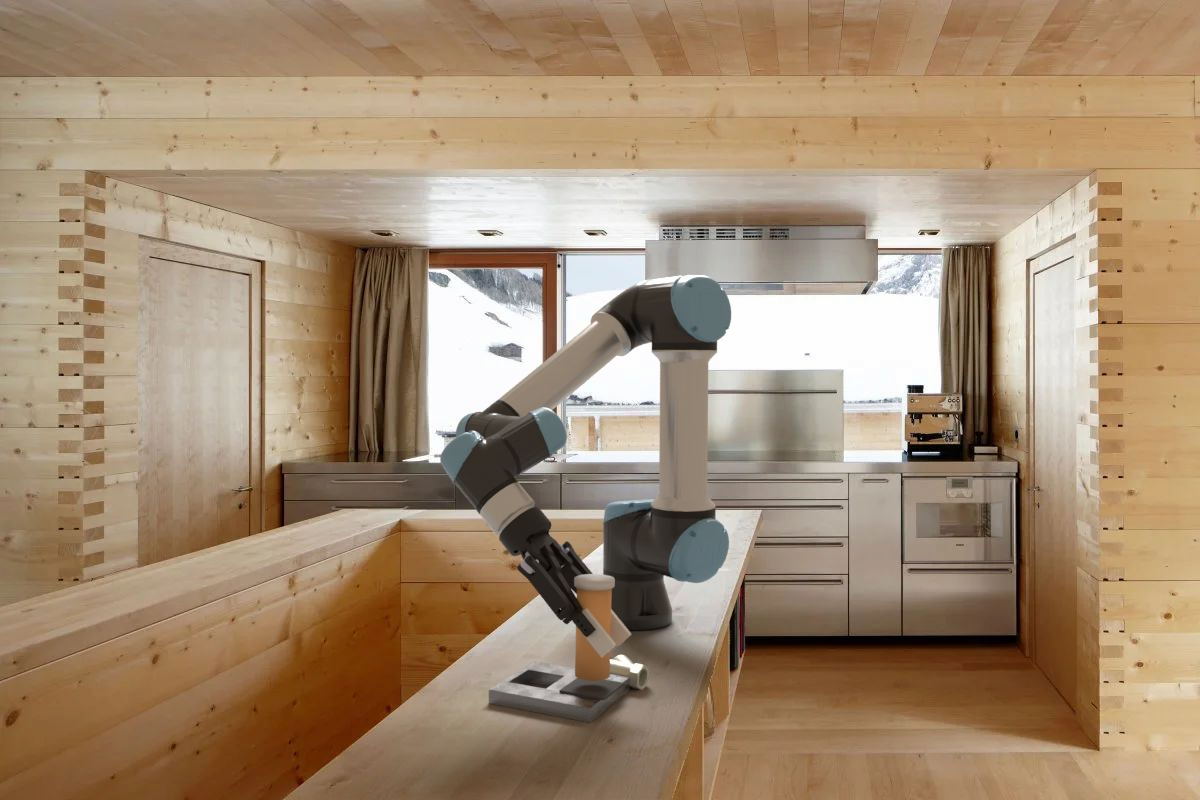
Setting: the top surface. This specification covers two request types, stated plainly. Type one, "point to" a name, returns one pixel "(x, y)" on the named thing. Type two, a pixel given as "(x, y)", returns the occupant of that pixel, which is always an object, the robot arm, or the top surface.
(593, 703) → the plate
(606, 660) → the orange pill bottle
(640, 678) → the pipe fitting
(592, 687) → the pad
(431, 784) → the top surface
